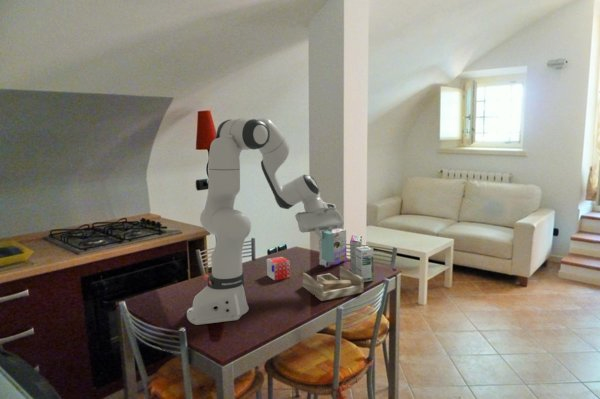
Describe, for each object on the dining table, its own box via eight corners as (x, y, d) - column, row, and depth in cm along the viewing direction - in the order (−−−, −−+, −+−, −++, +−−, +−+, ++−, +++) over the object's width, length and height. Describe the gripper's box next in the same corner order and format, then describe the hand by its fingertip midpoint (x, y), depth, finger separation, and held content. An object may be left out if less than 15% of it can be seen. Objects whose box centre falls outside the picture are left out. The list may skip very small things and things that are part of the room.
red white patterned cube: (290, 277, 191) (289, 260, 190) (274, 280, 187) (273, 263, 186) (282, 272, 198) (282, 256, 197) (267, 275, 194) (266, 259, 193)
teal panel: (328, 262, 173) (328, 233, 171) (321, 258, 179) (321, 230, 177) (333, 261, 174) (333, 233, 172) (327, 257, 180) (326, 230, 178)
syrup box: (361, 282, 182) (361, 250, 180) (355, 278, 188) (355, 246, 185) (373, 280, 184) (373, 248, 182) (367, 276, 189) (367, 245, 187)
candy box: (338, 258, 216) (338, 227, 214) (346, 261, 212) (346, 229, 209) (318, 264, 208) (318, 232, 205) (326, 267, 203) (326, 234, 200)
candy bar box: (351, 268, 201) (351, 234, 199) (362, 268, 200) (362, 235, 198) (349, 276, 191) (349, 240, 188) (361, 276, 190) (361, 241, 187)
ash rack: (321, 300, 164) (321, 286, 163) (302, 286, 179) (302, 273, 178) (363, 292, 171) (363, 278, 170) (342, 279, 187) (342, 266, 186)
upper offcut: (321, 289, 170) (321, 283, 170) (321, 286, 174) (321, 280, 173) (351, 288, 170) (351, 283, 170) (350, 285, 174) (350, 279, 173)
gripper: (296, 208, 176) (306, 236, 169) (338, 204, 185) (350, 230, 177) (292, 217, 181) (301, 244, 174) (333, 212, 189) (344, 238, 182)
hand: (326, 237), depth 176 cm, fingers closed on teal panel, 2 cm apart
